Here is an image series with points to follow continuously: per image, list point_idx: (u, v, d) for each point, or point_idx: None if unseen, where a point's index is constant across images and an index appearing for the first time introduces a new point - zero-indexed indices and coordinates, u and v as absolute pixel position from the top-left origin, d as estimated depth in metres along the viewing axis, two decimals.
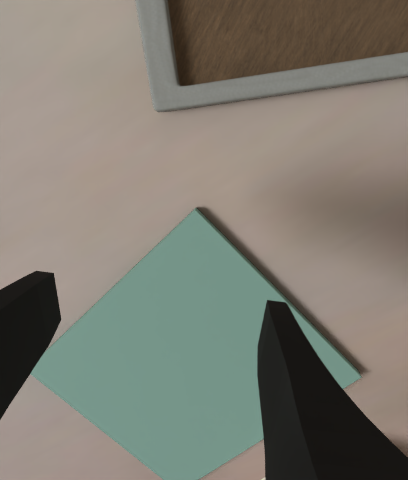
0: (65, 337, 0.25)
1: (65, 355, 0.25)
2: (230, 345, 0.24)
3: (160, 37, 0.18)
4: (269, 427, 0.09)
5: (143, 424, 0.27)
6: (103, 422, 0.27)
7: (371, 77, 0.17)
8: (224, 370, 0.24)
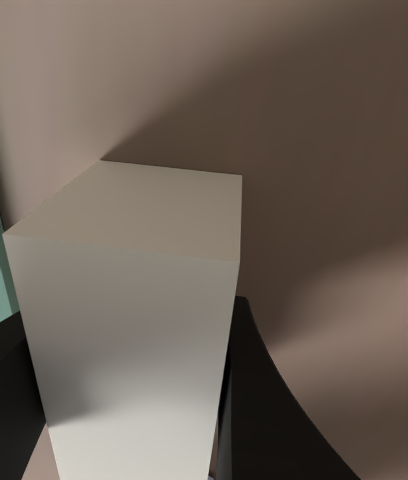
0: None
1: None
2: None
3: None
4: (221, 420, 0.09)
5: None
6: None
7: None
8: None
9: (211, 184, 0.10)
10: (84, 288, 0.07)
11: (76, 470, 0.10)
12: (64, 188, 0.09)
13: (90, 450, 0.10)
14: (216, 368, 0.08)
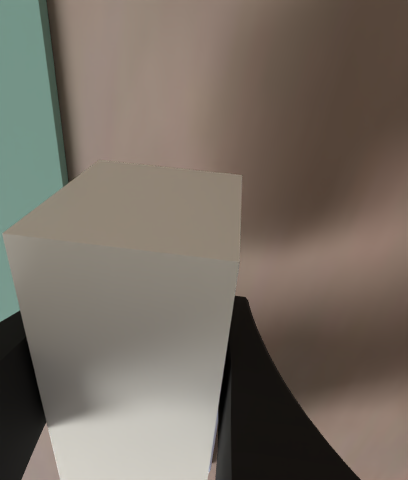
0: None
1: None
2: None
3: None
4: (221, 420, 0.09)
5: None
6: None
7: None
8: None
9: (211, 184, 0.10)
10: (83, 288, 0.07)
11: (76, 470, 0.10)
12: (64, 188, 0.09)
13: (90, 450, 0.10)
14: (216, 367, 0.08)
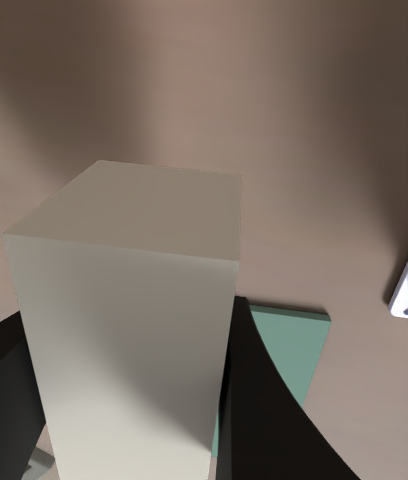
0: None
1: None
2: None
3: (25, 477, 0.33)
4: (221, 420, 0.09)
5: None
6: None
7: None
8: None
9: (211, 183, 0.10)
10: (83, 288, 0.07)
11: (76, 470, 0.10)
12: (64, 188, 0.09)
13: (90, 450, 0.10)
14: (216, 367, 0.08)
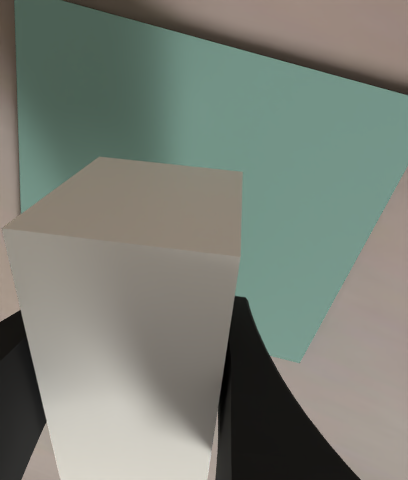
0: None
1: None
2: None
3: None
4: (221, 420, 0.09)
5: (307, 226, 0.18)
6: (334, 272, 0.19)
7: None
8: None
9: (211, 180, 0.10)
10: (83, 283, 0.07)
11: (76, 468, 0.10)
12: (64, 184, 0.09)
13: (89, 447, 0.10)
14: (216, 364, 0.08)
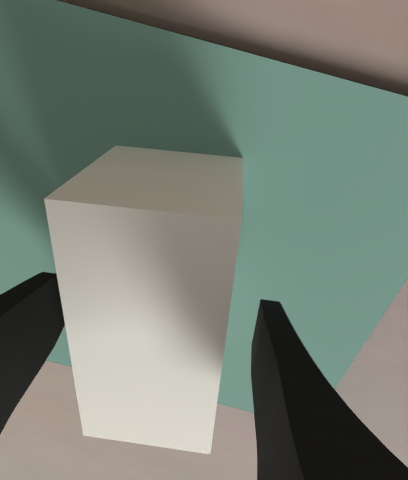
0: (226, 402, 0.18)
1: None
2: None
3: None
4: (261, 426, 0.09)
5: (323, 274, 0.14)
6: (355, 327, 0.15)
7: None
8: None
9: (216, 164, 0.11)
10: (111, 246, 0.08)
11: (97, 420, 0.12)
12: (89, 166, 0.10)
13: (110, 400, 0.11)
14: (222, 317, 0.09)
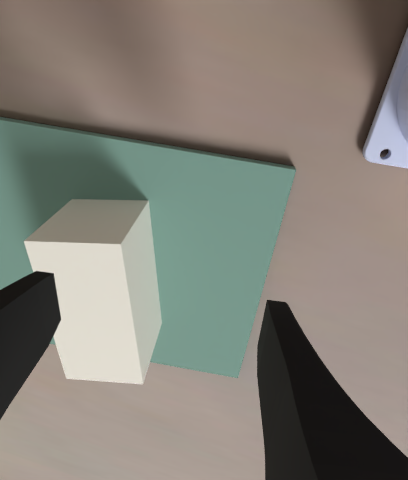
0: (176, 364, 0.26)
1: (194, 358, 0.25)
2: None
3: None
4: (269, 427, 0.09)
5: (216, 268, 0.21)
6: (246, 302, 0.22)
7: None
8: None
9: (128, 207, 0.19)
10: (60, 262, 0.16)
11: (72, 367, 0.19)
12: (51, 217, 0.18)
13: (77, 352, 0.19)
14: (125, 295, 0.17)
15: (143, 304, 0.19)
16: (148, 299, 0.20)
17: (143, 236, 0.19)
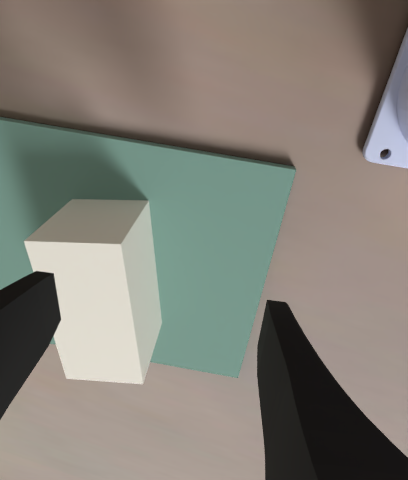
0: (176, 364, 0.26)
1: (194, 358, 0.25)
2: None
3: None
4: (269, 427, 0.09)
5: (216, 268, 0.21)
6: (246, 302, 0.22)
7: None
8: None
9: (128, 207, 0.19)
10: (60, 262, 0.16)
11: (72, 367, 0.19)
12: (51, 217, 0.18)
13: (77, 352, 0.19)
14: (125, 295, 0.17)
15: (143, 304, 0.19)
16: (148, 299, 0.20)
17: (143, 236, 0.19)
